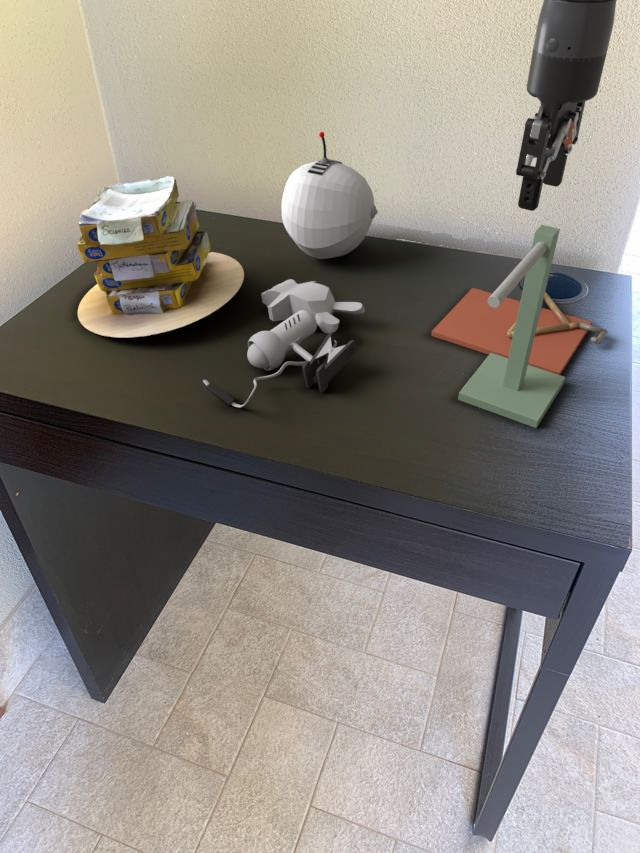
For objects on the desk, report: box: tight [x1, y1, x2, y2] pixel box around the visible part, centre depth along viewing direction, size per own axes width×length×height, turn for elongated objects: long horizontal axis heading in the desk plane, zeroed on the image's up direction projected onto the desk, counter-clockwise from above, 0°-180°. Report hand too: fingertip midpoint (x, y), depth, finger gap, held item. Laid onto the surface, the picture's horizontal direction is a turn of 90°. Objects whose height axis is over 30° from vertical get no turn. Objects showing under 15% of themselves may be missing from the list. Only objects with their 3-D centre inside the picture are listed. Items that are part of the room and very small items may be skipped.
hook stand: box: [457, 224, 566, 429], centre depth 75 cm, size 10×19×22 cm, turn 147°
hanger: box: [507, 291, 608, 345], centre depth 94 cm, size 14×1×11 cm
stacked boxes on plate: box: [76, 175, 245, 339], centre depth 97 cm, size 25×25×17 cm
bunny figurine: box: [260, 278, 366, 334], centre depth 97 cm, size 10×5×15 cm
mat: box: [431, 287, 593, 376], centre depth 95 cm, size 18×14×1 cm
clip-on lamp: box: [202, 310, 357, 409], centre depth 86 cm, size 12×6×18 cm
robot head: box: [281, 131, 379, 260], centre depth 107 cm, size 16×14×20 cm
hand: (539, 196), depth 83 cm, fingers open, 8 cm apart
